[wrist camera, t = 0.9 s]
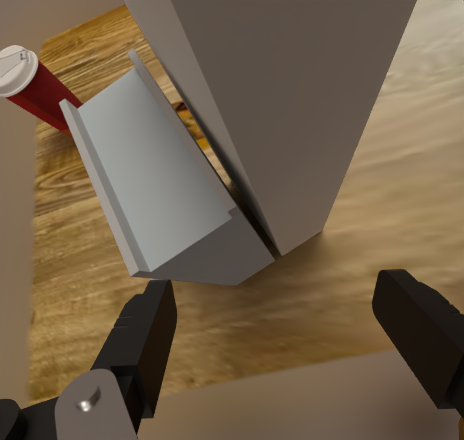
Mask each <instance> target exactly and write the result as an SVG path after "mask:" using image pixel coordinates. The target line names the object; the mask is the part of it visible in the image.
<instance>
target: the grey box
mask: <svg viewBox="0 0 464 440" xmlns="http://www.w3.org/2000/svg"><path fill="white" fill-rule="evenodd" d="M127 54H128V55H129V57H130V58H131V60H132V62H133V63H134V65H135V66H136V67H134V68H133V69H132V70H130V71H129V72H127V73H126V74H125V75H123V76H122V77H121V78H119V79H118V80H116V81H115V82H114V83H112V84H111V85H110V86H108V87H107V88H105V89H104V90H103V91H101V92H100V93H98V94H97V95H96V96H94V97H93V98H92V99H90V100H89V101H87V102H86V103H85V104H83V105H82V106H81V107H79V108H78V109H77V108H76V107H75V106H73V105H72V104H71V103H70V102H69V101H67V100H66V99H64V100H62V101H61V102H59V104H60V107H61V109H62V112H63V114H64V116H65V119H66V121H67V124H68V126H69V129H70V131H71V133H72V136H73V138H74V141H75V143H76V145H77V148H78V150H79V153H80V155H81V158H82V160H83V162H84V165H85V167H86V170H87V172H88V175H89V177H90V179H91V182H92V184H93V187H94V189H95V191H96V194H97V196H98V199H99V201H100V204H101V206H102V208H103V211H104V213H105V216H106V218H107V221H108V223H109V225H110V228H111V230H112V233H113V235H114V237H115V240H116V242H117V245H118V247H119V250H120V252H121V254H122V257H123V259H124V262H125V264H126V266H127V269H128V271H129V274H130V276H132V277H143V278H154V279H165V280H166V279H170V280H176V281H187V282H198V283H209V284H220V285H231V286H237V285H238V284H240V283H241V282H243V281H244V280H246V279H248V278H249V277H251V276H252V275H254V274H255V273H257V272H258V271H260V270H262V269H263V268H265V267H266V266H268V265H269V264H271V263H272V262H274V261H275V259H274V258H273V256H272V255H271V253H270V252H269V250H268V249H267V247H266V246H265V244H264V243H263V241H262V240H261V238H260V237H259V235H258V234H257V232H256V230H255V229H254V227H253V226H252V224H251V223H250V221H249V220H248V218H247V217H246V215H245V214H244V212H243V211H242V209H241V208H240V206H239V205H238V203H237V202H236V200H235V199H234V197H233V196H232V194H231V193H230V191H229V190H228V188H227V187H226V185H225V184H224V182H223V181H222V179H221V178H220V176H219V175H218V173H217V172H216V170H215V169H214V167H213V166H212V164H211V163H210V161H209V160H208V158H207V157H206V155H205V154H204V152H203V151H202V149H201V148H200V146H199V145H198V143H197V142H196V141H195V139H194V138H193V136H192V135H191V133H190V132H189V130H188V129H187V127H186V126H185V124H184V123H183V121H182V120H181V118H180V117H179V115H178V114H177V112H176V111H175V109H174V108H173V106H172V105H171V103H170V102H169V100H168V99H167V98H166V96H165V95H164V93H163V92H162V90H161V89H160V87H159V86H158V84H157V83H156V81H155V80H154V78H153V77H152V75H151V74H150V72H149V71H148V69H147V68H146V66H145V65H144V63H143V62H142V60H141V59H140V57H139V56H138V54H137V53H136V52H135V50H134V49H132V50H131V51H129V52H128V53H127Z"/></svg>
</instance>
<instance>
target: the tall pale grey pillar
mask: <svg viewBox="0 0 464 440" xmlns="http://www.w3.org/2000/svg"><path fill="white" fill-rule="evenodd" d="M123 1H124V3H125V5H126V6H127V8H128V10H129V11H130V13H131V15H132V16H133V18H134V20H135V21H136V23H137V25H138V26H139V28H140V30H141V31H142V33H143V35H144V36H145V38H146V40H147V41H148V43H149V45H150V46H151V48H152V50H153V51H154V53H155V55H156V56H157V58H158V60H159V61H160V63H161V65H162V66H163V68H164V70H165V71H166V73H167V75H168V76H169V78H170V80H171V81H172V83H173V85H174V87H175V88H176V90H177V92H178V93H179V95H180V97H181V98H182V100H183V102H184V103H185V105H186V107H187V108H188V110H189V112H190V113H191V115H192V117H193V118H194V120H195V122H196V123H197V125H198V127H199V128H200V130H201V132H202V133H203V135H204V137H205V138H206V140H207V142H208V143H209V145H210V147H211V148H212V150H213V152H214V153H215V155H216V157H217V158H218V160H219V162H220V163H221V165H222V167H223V168H224V170H225V172H226V173H227V175H228V177H229V178H230V180H231V182H232V183H233V184H234V186H235V187H236V189H237V190H238V192H239V193H240V195H241V196H242V198H243V199H244V201H245V202H246V204H247V205H248V207H249V208H250V210H251V211H252V213H253V214H254V216H255V217H256V219H257V220H258V222H259V223H260V224H261V226H262V227H263V229H264V230H265V232H266V233H267V235H268V236H269V238H270V239H271V241H272V242H273V244H274V245H275V247H276V248H277V250H278V251H279V253H280V254H281V256H283V255H285V254H286V253H288V252H290V251H291V250H293V249H294V248H296V247H297V246H299V245H300V244H302V243H304V242H305V241H307V240H308V239H310V238H311V237H313V236H314V235H316V234H318V233H319V232H321V231H322V230H323V228H324V225H325V223H326V221H327V218H328V216H329V213H330V211H331V208H332V206H333V204H334V201H335V199H336V196H337V194H338V191H339V189H340V186H341V184H342V182H343V179H344V177H345V174H346V172H347V169H348V167H349V165H350V162H351V160H352V157H353V155H354V152H355V150H356V147H357V145H358V143H359V140H360V138H361V135H362V133H363V130H364V128H365V126H366V123H367V121H368V118H369V116H370V113H371V111H372V108H373V106H374V104H375V101H376V99H377V96H378V94H379V91H380V89H381V87H382V84H383V82H384V79H385V77H386V74H387V72H388V69H389V67H390V65H391V62H392V60H393V57H394V55H395V52H396V50H397V48H398V45H399V43H400V40H401V38H402V35H403V33H404V30H405V28H406V26H407V23H408V21H409V18H410V16H411V13H412V11H413V9H414V6H415V4H416V1H417V0H123Z"/></svg>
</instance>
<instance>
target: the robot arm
mask: <svg viewBox="0 0 464 440" xmlns="http://www.w3.org/2000/svg"><path fill="white" fill-rule="evenodd" d="M372 308H373V312H374V315H375V317H376V319H377V320H378V322H379V323H380V325H381V326H382V328H383V329H384V331H385V332H386V334H387V335H388V337H389V338H390V339H391V341H392V342H393V344H394V345H395V347H396V348H397V350H398V351H399V353H400V354H401V356H402V357H403V358H404V360H405V361H406V363H407V364H408V366H409V367H410V369H411V370H412V371H413V373H414V374H415V376H416V377H417V379H418V380H419V382H420V383H421V385H422V386H423V388H424V389H425V391H426V392H427V394H428V395H429V396H430V398H431V399H432V401H433V402H434V404H435V405H436V407H437V408H438V409H455V408H456V410H457V411H458V412H459V414H460V415H461V417H460V419H459V423H458V430H459V440H464V315H463V314H460V311H459V310H458V309H456V308H455V307H454V306H453V305H452V304H451V305H450V303H449V301H448V300H446V299H445V298H444V297H443V296H442V295H441V294H440V293H439V292H438V291H436V290H434V289H432V288H431V287H429V286H427V285H425V284H424V283H422V282H418V281H417V280H416V279H415V278H414V277H413V276H412V275H410V274H409V273H408V272H407V271H406V270H404V269H391V270H381V271H380V272H379V274H378V277H377V282H376V286H375V291H374V296H373V300H372ZM176 324H177V308H176V303H175V298H174V292H173V287H172V282H171V280H170V279H166V280H150V281H149V283H148V285H147V287H146V289H145V291H144V293H143V294H136V295H135V296H134V297H133V298H132V299H130V300H129V301H128V302H127V303H126V304H125V306H124V308H123V310H122V311H121V313H120V315H119V318H118V319H117V321H116V323H115V325H114V328H112V330H111V332H110V334H109V336H108V338H107V340H106V341H105V343H104V345H103V347H102V349H101V351H100V353H99V355H98V356H97V358H96V360H95V362H94V364H93V366H92V368H91V369H90V371H88V372H86V373H84V374H82V375H80V376H79V377H77V378H76V379H74V380H73V381H72V382H71V383H70V384H69V385H68V386H67V387H66V388H65V389H64V390H63V392H62V393H61V395H60V396H58V397H55V398H53V399H50V400H47V401H44V402H41V403H38V404H35V405H33V406H30V407H27V408H24V409H20V407H19V406H18V404H17V403H16V402H15V401H14V400H11V399H0V440H138V437H137V432H138V429H139V426H140V422H141V419H142V418H153V417H154V413H155V409H156V405H157V401H158V397H159V393H160V389H161V385H162V381H163V377H164V373H165V369H166V365H167V361H168V357H169V353H170V349H171V345H172V341H173V337H174V333H175V329H176Z"/></svg>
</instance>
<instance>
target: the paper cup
mask: <svg viewBox="0 0 464 440" xmlns="http://www.w3.org/2000/svg"><path fill="white" fill-rule="evenodd" d="M0 97H5V98H7V99H8V100H10V101H12V102H13V103H15V104H17V105H19V106H20V107H22V108H23V109H25V110H27V111H28V112H30V113H32V114H33V115H35V116H36V117H38V118H40V119H41V120H43V121H45V122H46V123H48V124H50V125H51V126H53V127H55V128H56V129H58V130H60V131H61V132H63V133H65V134H66V135H68V136H70V137H72V138H73V136H72V133H71V131H70V129H69V126H68V124H67V121H66V119H65V116H64V114H63V112H62V109H61V107H60V104H59V102H61V101H62V100H64V99H66V100H67V101H69V102H70V103H71V104H72V105H73V106H75V107H76V108H77V109H78V108H79V107H81V106H82V105H83V103H82V102H81V101H80V100H79V99H78V98H77V97H76V96H75V95H74V94H73V93H72V92H71V91H70V90H69V89H68V88H67V87H66V86H64V85H63V84H62V83H61V82H60V81H59V80H58V79H57V78H56V77H55V76H54V75H53V74H52V73H51V72H50V71H49V70H48V69H47V68H46V67H45V66H44V65H43V64H42V63H41V62H40V61H39V60H38V58H37V56H36V54H35V53H34V52H32V51H29V50H26V49H25V48H23V47H21V46H18V45H14V46H10V47H7V48H5V49H3V50H2V51H1V52H0ZM73 139H74V138H73Z"/></svg>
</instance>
